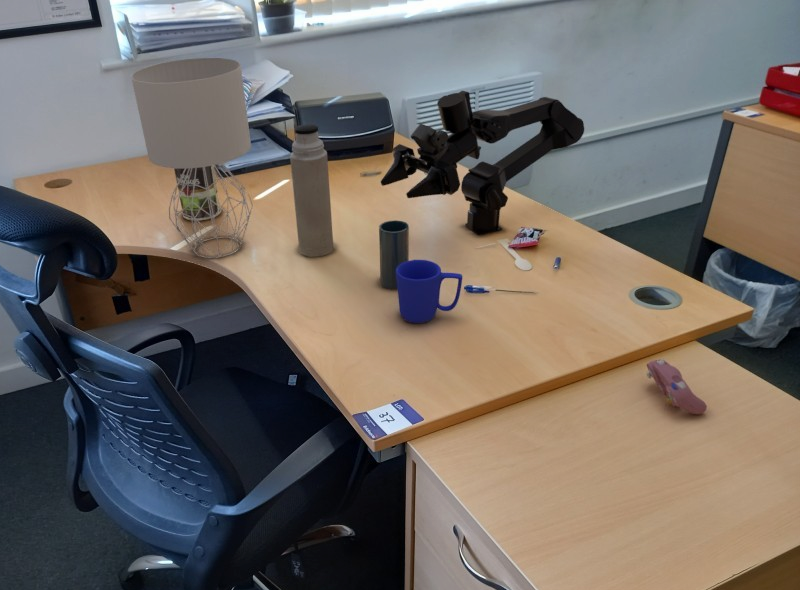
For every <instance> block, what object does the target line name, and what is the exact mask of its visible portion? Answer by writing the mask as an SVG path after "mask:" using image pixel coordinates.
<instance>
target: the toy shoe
mask: <svg viewBox="0 0 800 590" xmlns="http://www.w3.org/2000/svg"><path fill="white" fill-rule="evenodd" d="M646 367H647V370H648V371H646V373H645V374H646V377H647V378H649V379H652V378H653V380H654V382H655V384H656V386H657V387H658V389H659V390H660V392H661V393H662V395H666V397H667V399H666V401H667V403H668V404H671V406H673V407H674V408H675V407H679V408H680V409H681V410H683V411H685V412H687V413H689V414H692V415H703V414H704V413H705V412H706V411H707V408H708V406H707V403H706V402H705V401H704V400H703V399H701V398H700V397H698V396H697V395H696V394H694V392H692V390H691V388H690V387H689V384H687V382H686V380H684V378H683V375H682V373H681V371H680V370H679V369H678V368H676V367H675V366H673V365H671V364H670V363H668V362H667V361H666V360H665V359H664V358H661V359H655V360H652V361H650V362H647V363H646Z"/></svg>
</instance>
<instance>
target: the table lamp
mask: <svg viewBox="0 0 800 590" xmlns="http://www.w3.org/2000/svg"><path fill="white" fill-rule="evenodd" d="M242 72H243V71H242V64H241V62H240V61H238V60H236V59H233V58H227V57H196V58H195V57H194V58H184V59H177V60H171V61H165V62H160V63H155V64H152V65H148V66H145V67H142V68H140V69H138V70H136V71H134V72H133V73H131V75H130V79H131V83H132V87H133V92H134V96H135V101H136V104H137V106H136V107H137V111H138V116H139V120H140V124H141V129H142V134H143V138H144V142H145V143H144V144H145V147H146V151H147V152H146V153H147V157H148V161H149V162H150V163H152V164H153V165H156V166H158V167H161V168H167V169H174V168H181V169H184V168H185V169H184V171H183V173H182V175H181V177H180V179H179V181H178V183H177V182H176V185H175V188H174V189H173V192H172V194H171V198H170V201H169V206H168V219H169V220H170V222H171V223H172V225H173V226H174V227H175V229H176V230H177V232H178V233H179V234H180V236H181V237H182V238H183V240H184V241H185V243H186V244H188V246H189V247H190V248H191V250H192V251H193V252H194V253H195V255H196V256H197V257H200V258H201V257H202V258H205V259H206V258H207V259H215V258H216V259H217V258H222V257H226V256H230V255H234V253H236V252H237V251H239V250H240V249H241V247H242V242H243V240H244V237H245V234H246V231H247V228H248V224H249V222H250V217H251V214H252V210H253V207H254V205H253V201H252V199H251V196H250V194H249V193H248V191H247V189H246V187H245V186H244V184H243V183H242V182H241V181H240V180H239V178H237V177H236V176H235V175H234V174H233V173H232V172H231V171H230V169H228V168H227V167H226V166H225V165H224V163H229V162H231V161H234V160H237V159H238V158H241V157H243V156H244V155H246V154H247V153H248V152H249V151H250V150H251V148H252V142H251V141H252V140H251V135H250V133H251V132H250V126H249V118H248V109H247V103H246V94H245V88H244V86H245V85H244V80H243V73H242ZM213 165H214V167H213ZM207 166H212V167H213V169H214V171H215V176H216V178H217V179H216V181H215V182H218V181H219V183H220V185H221V187H222V189H223V191H224V193H225V195H226V199H225V200H224V201H223V202H222V204H221V205H220V206H219V205H217V204H216V203H215V202H213V201H212V200H211V198H210V192H209V187H210V186H212V185H213V184H214V183H215V182H214V183H213V184H211V185H210V186H209V187H208V182H207V176H206V171H205V167H207ZM217 166H218V167H219V168H220V170H221V171H222V172H223V173H224V175H225V176H226V177H227V179H229V180H227V179H226V178H225V177H223V176H222V174H221V173H220V171H219V170H218V168H217ZM199 167H203V174H204V171H205V174H204V180H205V177H206V181H205V186H206V182H207V187H208V188H207V187H206V188H204V187H201V186H199V185H196V184H195V178H196V169H197V168H199ZM186 168H189V169H188V172H187V175H188V173H189V170H190V168H191V171H192V168H196V169H195V177H194V183H191V182H189V179H190V175H191V171H190V175H189V179H188V182H187V183H188V185H189V183H191V184H194V186H193V195H192V202H191V203H190V204H192V209H191V207H190V204H189V199H188V185H187V183H186V185H187V199H188V204H189V205H187V206H186V207H185V208H187V207H188V206H189V207H190V209H191V212H192V215H193V217H192V216H189V215H187V214H184V213H183V212H182V211H183V210H184V209H185V208H184V209H182V208H181V210H180V211H179V210H178V208H179V201H180V195H181V192H182V190H183V189H184V187H185V186H186V185H185V186H184V184H185V181H186V178H187V175H186V178H185V181H184V183H183V186H182V189H181V191H180V192H179V191H178V185H179V183H180V181H181V179H182V177H183V175H184V173H185V170H186ZM225 171H226V172H227V173H228V174H229V175H230V176H229V175H228V174H227V173H226V172H225ZM219 176H220V177H219ZM230 177H232V179H233V180H234V181H235V182H236V183H234V181H233V180H232V179H231V178H230ZM225 181H226V182H227V183H229V184H230V185H232V186H233V187H234V188H236V190H237V191H238V192H239V194H240V196H241V198H242V200H239V199H235V198H233V197H231V196H229V193H228V189H227V188H228V187H227V186H226V183H225ZM236 184H237V185H236ZM195 185H196V186H199V187H201V188H204V189H206V193H207V189H208V193H209V198H208V193H207V199H208V204H209V200H210V204H211V209H212V203H211V201H212V202H213V203H215V204H216V205H217V206H218V207H220V208H219V210H220V209H221V211H223V212H225V213H226V215H225V217H224V218H223V221H222V222H221V224H220V227H219V228H218V227H217V226H216V220H215V218H216V217H217V216H216V215H217V213H218V212H219V210H218V211H217V213H216V214H215V216H216V217H215V216H214V214H213V209H212V215H213V216H212V215H211V210H210V214H209V213H207V212H206V211H204V210H203V209H202V207H203V205H204V204H205V202H206V200H207V199H206V200H205V202H204V204H203V205H202V207H201V208H200V207H199V206H197V205H196V204H195V203H193V196H194V187H195ZM177 191H178V193H177ZM245 193H246V194H247V196H248V198H249V201H250V204H251V208H250V209H249V206H248V201H247V196H246V194H245ZM179 194H180V195H179ZM176 199H177V202H175V201H176ZM231 200H233V201H236V202H238V203H237V204H236V205H235V206H234V207H233V205H232V201H231ZM226 202H227V203H226ZM172 203H173V211H174V217H175V219H174V220H175V223H174V221H173V220H172V218H171V205H172ZM175 203H176V204H175ZM193 204H194V205H196V206H197V207H198V208H200V210H203V211H204V212H205V213H207V214H208V215H210V216H211V219H210V220H211V225H212V229H211V230H208V228H206V227H205V226H204V225H203V224H202V223H201V222H200V221H198V220H196V219H195V218H196V216H197V215H198V213H199V212H200V210H199V211H198V213H197V215H196V216H195V217H194V214H193ZM210 204H209V209H210ZM225 204H226V205H227V207H226V210H225V209H224V208H222V207H223V206H224V205H225ZM229 204H230V207H231V209H230V210H229ZM241 204H242V206H241V212H240V217H239V222H238V221H237V217H236V211H235V210H234V209H236V208H237V207H238V206H239V205H241ZM244 209H245V215H246V217H245V220H244V221H243V222H242V224H241V221H242V216H243V213H244V212H243V211H244ZM231 212H232V213H233V216H234V220H235V221H234V222H235V228H234V226H233V224H232V220H231V218H230V215H229V213H231ZM179 214H182V215H183V214H184V215H187V216H189V217H191V219H192V218H194V221H193V219H192V221H191V227H192V231H193V233H194V236H193V235H192V234H191V233H190V232H189V231H188V229H187V227H186V226H185V224H184V222H183V221H182V219H181V217H180V215H179ZM178 219H179V221H180V224H181V225H182V227H183V228H184V229H183V228H182V227H181V226H179V222H178ZM225 220H226V230H224V229H221V228H222V226H223V225H224V223H225ZM229 223H230V227H231V229H232V233H230V232H228V229H229V228H228V227H229ZM237 224H238V225H237ZM199 225H200V226H201V227H203V228H204V229H205V230H206V232H207V233H206V234H205V235H204V236H203V234H202V231H201V229H200V226H199ZM196 226H197V227H196ZM242 227H243V228H242ZM196 228H197V229H198V231H199V233H200V236H201V239H199V237H198V235H197V229H196ZM241 228H242V229H241ZM182 231H183V232H184V233H185V234H187V235H188V236H189V237H190V238H189V237H188V236H186V235H185V234H183V232H182ZM220 231H221V232H223V233H226V236H218V234H219V232H220ZM239 231H240V232H239ZM212 232H213V233H212ZM242 232H243V234H242ZM209 234H210V235H211V236H212V237H211V238H210V237H209V238H207V239H205V238H206V237H207V236H208V235H209ZM241 234H242V237H241V240H239V239H238V238H239V237H240V236H241ZM228 235H230V236H232V237H230V236H228ZM214 239H216V245H217V250H218V254H217V252H215V251H214V250H212V249H211V248H210V247H208V246H207V245H206V244H205V243H204V242H207V241H210V240H214ZM219 239H230V240H229V242H228V244H227V245H226V247H225V248H224V249H223V251H222V252H220V246H219V245H220V244H219ZM197 242H198V243H197ZM235 242H236V245H237V247H238V248H237V249H235V250H234V245H235ZM191 243H192V244H193V246H194V247H193V246H192V244H191ZM231 243H232V245H231V246H232V247H231V253H227V254H224V253H225V252H226V250H227V248H228V247H229V246H230V244H231ZM203 246H204V247H205V248H206V249H208V250H209V251H210V252H212V253H213V254H214V255H215V256H208V255H207V253H206V251H205V249H204V247H203ZM200 247H201V249H202V251H203V253H204V255H201V254H199V252H200ZM196 248H197V251H196Z"/></svg>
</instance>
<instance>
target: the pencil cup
mask: <svg viewBox="0 0 800 590" xmlns="http://www.w3.org/2000/svg"><path fill="white" fill-rule="evenodd" d="M409 231H410V227H409V224H408V223H407V222H405V221H403V220H387V221H384V222H382V223H380V224H379V225H378V232H379V233H378V234H379V235H378V237H379V280H380V285H381V286H382V287H383V288H385V289H388V290H398V289H397V278H396V268H397V267H398V266H399V265H400V264H402V263H404V262H406V261H410V260H409V259H410V258H409V257H410V256H409V255H410V253H409V252H410V250H409V249H410V248H409V244H410V237H409V236H410V235H409V234H410V232H409Z"/></svg>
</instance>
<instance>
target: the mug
mask: <svg viewBox="0 0 800 590" xmlns="http://www.w3.org/2000/svg"><path fill="white" fill-rule="evenodd" d="M396 278H397V289H396V290H397V297H398V310H399V313H400V316H401V317H402V319H403V320H405V321H406V322H409V323H412V324H423V323H427V322H429V321H431V320H432V319H434V317H435V315H436V313H437V310H440V311H443V312H451V311H452V310H453V309H455V307H456V306H457V304H458V303H459V299H460V296H461V290H462V284H463V274H461V273H458V272H457V273H456V272H442V268H441V266H440V265H439V264H438V263H436V262H434V261H431V260H428V259H411V260H409V261H406V262H404V263H402V264H400V265H399V266H398V267H397V268H396ZM445 279H455V280H457V288H456V293H455V297H454V300H453V302H452V303H450V304H448V305H441V304H440V295H441V287H442V282H443V281H444V280H445Z"/></svg>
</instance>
